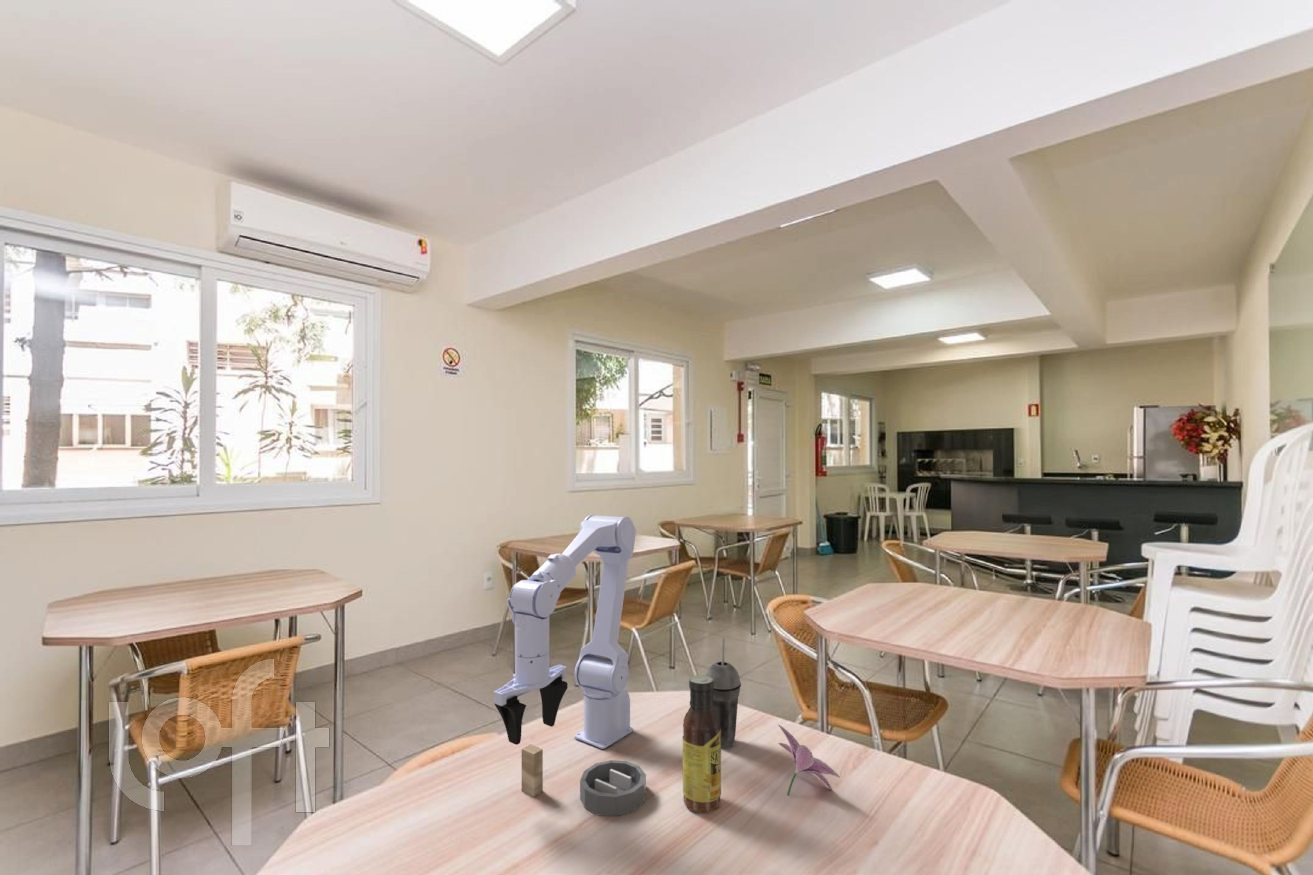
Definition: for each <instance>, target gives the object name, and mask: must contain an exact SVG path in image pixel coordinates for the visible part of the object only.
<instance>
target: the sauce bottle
mask: <svg viewBox="0 0 1313 875" xmlns="http://www.w3.org/2000/svg"><path fill="white" fill-rule="evenodd" d="M688 683H689V684H688V688H689V692H690V693H689V696H690V698H689V699H690V700H689V705H690V706H689V708H688V710H687V712H686V713H685V715H684V718H683V724H682V729H683V730H682V732H683V736H682V793H683V794H682V795H683V803H684V805H685V806H686V808H688V810H691V811H693V812H695V813H696V812H697V813H704V814H705V813H709V812H713V811H715V810H716V809H717V808H718V807H719V806H720V803H721V795H722V749H721V728H720V725H719V722H718V719H717V716H716V713H715V710H714V707H713V688H714V681H713V678H711V677H709V676H706V674H698V675H697V674H696V675H692V676H691V677H689V680H688Z"/></svg>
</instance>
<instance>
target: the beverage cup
mask: <svg viewBox="0 0 1313 875" xmlns="http://www.w3.org/2000/svg"><path fill="white" fill-rule="evenodd" d="M705 675H706V676H709V677H711V678H713V681H714V688H713V707H714V710H715V713H716V716H717V719H718V722H719V725H720V728H721V750H722V749H723V750H725V749H731V748H732V747H734V746H735V741H736V740H735V739H736V733H737V732H736V730H737V719H738V706H739V705H738V704H739V696H740V692H741V687H742V683H741V678H740V675H739V673H738V671H737V669H736V668H735V666H733V665H732V664H731V663H729V662H726V661H725V638H724V637H722V638H721V661H717V662H714V663H713V664H712V665H711V666H710V667H709V668H708V669H707V671H706V672H705Z"/></svg>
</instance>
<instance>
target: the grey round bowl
mask: <svg viewBox="0 0 1313 875" xmlns="http://www.w3.org/2000/svg"><path fill="white" fill-rule="evenodd" d="M579 787H580V788H579V800H580V802H581V804H582V806H583V807H584V809H585V810H588V812H589V811H590V812H592V813H593V814H595V815H598V816H611V817H618V816H622V815H625V814H628V813H632V812H634V811H635V810H637V809H638V808H639V807H640V806H642V805H643V804H644V803H645V800H646V794H647V774H646V773H645V771H644V770H643V768H642V767H641V766H640V765H637V764H635V763H633V762H631V761H627V760H615V759H614V760H613V759H610V760H606V761H602V762H601V761H600V762H596V763H594V764H593V765H590V766H589V767H588V768H586V769H585V770H584V771H583V773H582V775H581V778H580V780H579Z"/></svg>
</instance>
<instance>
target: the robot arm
mask: <svg viewBox="0 0 1313 875" xmlns="http://www.w3.org/2000/svg"><path fill="white" fill-rule="evenodd" d="M579 526H580V528H579V532H578V534H577V535H576V536H575V537H574V539H573V540H572V541H571V543H570V544H569V545H568V546H567V547H566V548H565V549H564V551H563V552H562V553H554V554H552V553H551V554H550V555H549V556H548V557H547V559H546V561H545V562H543V564H542V565H540V567H539V568H538V569H536V570H535V571H534V572H533V573H532V575H530V577H528V579H521V580H519V581H518V582H516V583H515V584H514V585H513V586H512V587H511V590H510V592H509V595H508V596H509V597H508V598H507V600H506V601H507V602H506V603H507V604H506V605H507V608H508V609H509V611H510V614H511V621H512V623H513V624H514V674H512V679H511V680H509V681H508V682H507V683H505V684H504V685H503V686H501V687H500V688H498V689H496V690H494V691H493V704H494V707H495V708H496V709H497V710H498V713H499V715H500V717H501V719H502V721H503V724H504V727H505V731H506V734H507V740H508V742H510V743H511V744H514V745H515V746H517V745H519V744H521V741H522V740H521V739H522V728H523V727H522V726H523V725H522V724H523V718H524V713H525V710H526V708H527V705H526V704H524V703H522V702H520V699H518V698H519V697H521V696H523V695H525V694H528V693H530V692H532V691H536V690H537V691H538V690H539V692H540V699H541V714H542V715H541V716H542V723H543V724H544V725H546V726H548V727H550V728H551V727H554V726H555V723H556V718H557V715H558V711H559V707H560V706H561V705H560V704H561V702H562V700H563V697H564V695H565V693H566V692H567V690H568V688H569V687H568V682H567V681H565V680H564V679H567V676H568V674H567V673H568V668H567V666H565V665H562V664H558V665H553V666H551V667H550V615H552V614H553V613H554V611H555V610H556V606H557V602H558V600H559V598H560V596H561V593H562V591H564V589H565V588H566V587H568V585H569V583H570V582H571V581H572V580H573V579H574V578H575V576H576V574H577V568H576V567H577V566H578V565H580V563H582V562H583V560H585V559H586V558H587V557H588V556H589V555H590V554H591V553H592V552H594V554H596V555H597V556H599V557H600V559H601V560H602V563H603V564H602V572H601V578H600V579H601V580H600V586H599V591H598V592H599V593H598V600H597V604H596V605H597V606H596V613H595V619H594V628H593V633H592V634H593V635H592V639H591V641H590V642H588V643H587V644H585V645H584V646H582V647H581V648H580V652H579V658H578V660H577V662H576V664H575V668H574V680H575V682H576V685H577V686H579V687H580V693H583V730H581V731H579V732H578V733H576V734H574V736H573V737H574V739H576V740H579V741H581V742H583V743H586V744H589V745H591V746H594V747H596V748H599V749H602V750H604V749H607V748H608V747H609V746H611V745H613V744H615V743H616V742H618V741H620V740H621V739H623V738H625V737H626V736H628V735H629V734H631V733H632V732H634V727H632V726H631V697H630V694H629V692H628V690H627V688H626V686H627V685H628V682H629V677H630V674H629V672H630V671H629V654H628V653H627V651H626V650H625V649H624V648H623V647H622V646H621V645H620V644H619V643H618V641H619V637H620V636H619V634H620V629H621V628H620V627H621V622H622V621H621V620H622V613H623V606H624V605H623V604H624V599H625V591H626V590H625V589H626V583H627V576H628V568H629V560H630V559H632V558H633V555H634V550H635V543H636V535H637V529H636V526H635V525H634V521H633V520H632V519H631V517H630V516H610V515H596V514H588V515H587V516H586V517H585V518H584V520H583V521H581V523H580V525H579ZM605 657H606V658H605Z"/></svg>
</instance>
